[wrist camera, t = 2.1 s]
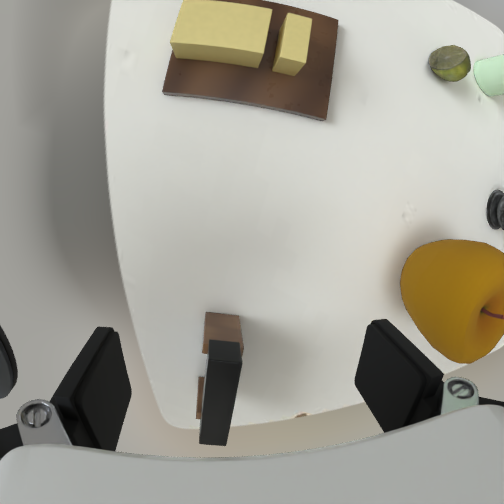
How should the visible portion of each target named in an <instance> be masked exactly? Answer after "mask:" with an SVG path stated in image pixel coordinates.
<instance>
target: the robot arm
mask: <svg viewBox="0 0 504 504" xmlns="http://www.w3.org/2000/svg"><path fill="white" fill-rule="evenodd" d="M443 375H444V374H443V373H442V372H441V371H440V370H439V369H438V368H437V367H436V366H435V365H434V364H433V363H432V362H431V361H430V360H429V359H428V358H427V357H426V356H425V355H424V354H423V353H422V352H421V351H420V350H419V349H418V348H417V347H416V346H415V345H414V344H413V343H412V342H411V341H410V340H408V339H407V338H406V337H405V336H404V335H403V334H402V333H401V332H400V331H399V330H398V329H397V328H396V327H395V326H394V325H393V324H392V323H390V322H389V321H388V320H387V319H381V320H373V321H372V322H371V324H369V325H368V326H367V329H366V334H365V339H364V343H363V347H362V352H361V356H360V360H359V364H358V368H357V372H356V376H355V386H356V388H357V389H358V391H359V392H360V394H361V396H362V397H363V399H364V400H365V402H366V404H367V405H368V407H369V408H370V410H371V412H372V413H373V415H374V417H375V418H376V420H377V421H378V423H379V425H380V426H381V428H382V430H383V431H384V433H382V434H379V435H375V436H371V437H367V438H363V439H359V440H355V441H350V442H346V443H341V444H336V445H332V446H326V447H321V448H315V449H309V450H303V451H295V452H288V453H279V454H271V455H260V456H244V457H221V458H220V457H219V458H194V457H193V458H192V457H169V456H155V455H143V454H132V453H123V452H116V451H115V450H116V446H117V443H118V439H119V435H120V432H121V429H122V425H123V422H124V418H125V415H126V412H127V408H128V405H129V402H130V398H131V386H130V382H129V378H128V374H127V370H126V365H125V361H124V357H123V353H122V348H121V343H120V338H119V334H118V332H114V330H113V328H111V327H97V328H96V329H95V331H94V333H93V334H92V335H91V337H90V338H89V340H88V341H87V343H86V344H85V346H84V347H83V349H82V350H81V352H80V354H79V355H78V357H77V358H76V360H75V361H74V363H73V364H72V366H71V367H70V369H69V371H68V372H67V374H66V375H65V377H64V378H63V380H62V382H61V383H60V385H59V387H58V388H57V390H56V392H55V393H54V395H53V397H52V398H51V400H50V402H48V401H45V400H38V399H37V400H32V401H29V402H27V403H25V404H24V405H23V406H21V408H20V409H19V410H18V413H17V415H16V417H17V424H14V425H11V426H8V427H5V428H2V429H0V504H504V402H501V401H496V400H492V399H487V398H482V397H479V396H478V389H477V387H476V386H475V384H474V383H473V382H471V381H470V380H467V379H466V378H462V377H451V378H449V379H447V380H446V381H445V383H444V382H443V381H442V378H443Z"/></svg>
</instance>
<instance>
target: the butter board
mask: <svg viewBox="0 0 504 504" xmlns="http://www.w3.org/2000/svg"><path fill="white" fill-rule="evenodd" d="M213 1H223V2H231V3H239V4H246V5H252V6H258V7H263V8H269V9H272V15H271V20H270V25H269V30H268V35H267V40H266V45H265V50H264V54H263V57H262V59H261V62H260V64H259V67H258V68H253V67H248V66H242V65H235V64H228V63H221V62H213V61H204V60H193V59H181V58H176V57H175V54H174V52H173V50H172V54H171V57H170V61H169V65H168V69H167V73H166V77H165V81H164V86H163V90H162V92H163V94H164V95H175V96H186V97H196V98H205V99H213V100H220V101H227V102H234V103H240V104H246V105H252V106H257V107H263V108H268V109H273V110H278V111H283V112H287V113H292V114H296V115H300V116H305V117H309V118H313V119H317V120H320V121H323V120H326V117H327V110H328V103H329V96H330V89H331V81H332V73H333V65H334V57H335V48H336V39H337V30H338V20H337V19H334V18H331V17H328V16H325V15H321V14H318V13H315V12H311V11H307V10H304V9H300V8H296V7H292V6H288V5H283V4H279V3H274V2H269V1H264V0H213ZM288 13H292V14H296V15H300V16H304V17H307V18H311V19H312V25H311V32H310V39H309V46H308V53H307V60H306V64H305V65H304V66H303V67H302V68H301V69H300V71H299V72H298V73H297V74H296V75H295V76H292V75H287V74H283V73H278V72H274V71H272V69H273V63H274V58H275V52H276V47H277V41H278V36H279V31H280V28H281V26H282V24H283V22H284V20H285V18H286V16H287V14H288Z"/></svg>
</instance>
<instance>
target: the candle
mask: <svg viewBox="0 0 504 504" xmlns="http://www.w3.org/2000/svg"><path fill="white" fill-rule="evenodd" d="M474 75H475V78H476V81H477V83H478V85H479V87H480V88H481V90H482V91H483V92H484V93H485V94H486V95H488V96H496V95H504V54H503V55H499V56H495V57H491V58H487V59H484V60H480V61H477V62H476V63H475V65H474Z"/></svg>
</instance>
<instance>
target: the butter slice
mask: <svg viewBox="0 0 504 504" xmlns="http://www.w3.org/2000/svg"><path fill="white" fill-rule="evenodd" d="M311 25H312V19H311V18H307V17H304V16H300V15H296V14H292V13H288V14H287V16H286V18H285V20H284V22H283V24H282V26H281V28H280V31H279V36H278V41H277V47H276V52H275V58H274V63H273V69H272V71H274V72H278V73H283V74H287V75H292V76H295V75H296V74H297V73H298V72H299V71H300V69H301V68H302V67H303V66H304V65H305V64H306V60H307V53H308V46H309V39H310V32H311Z"/></svg>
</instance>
